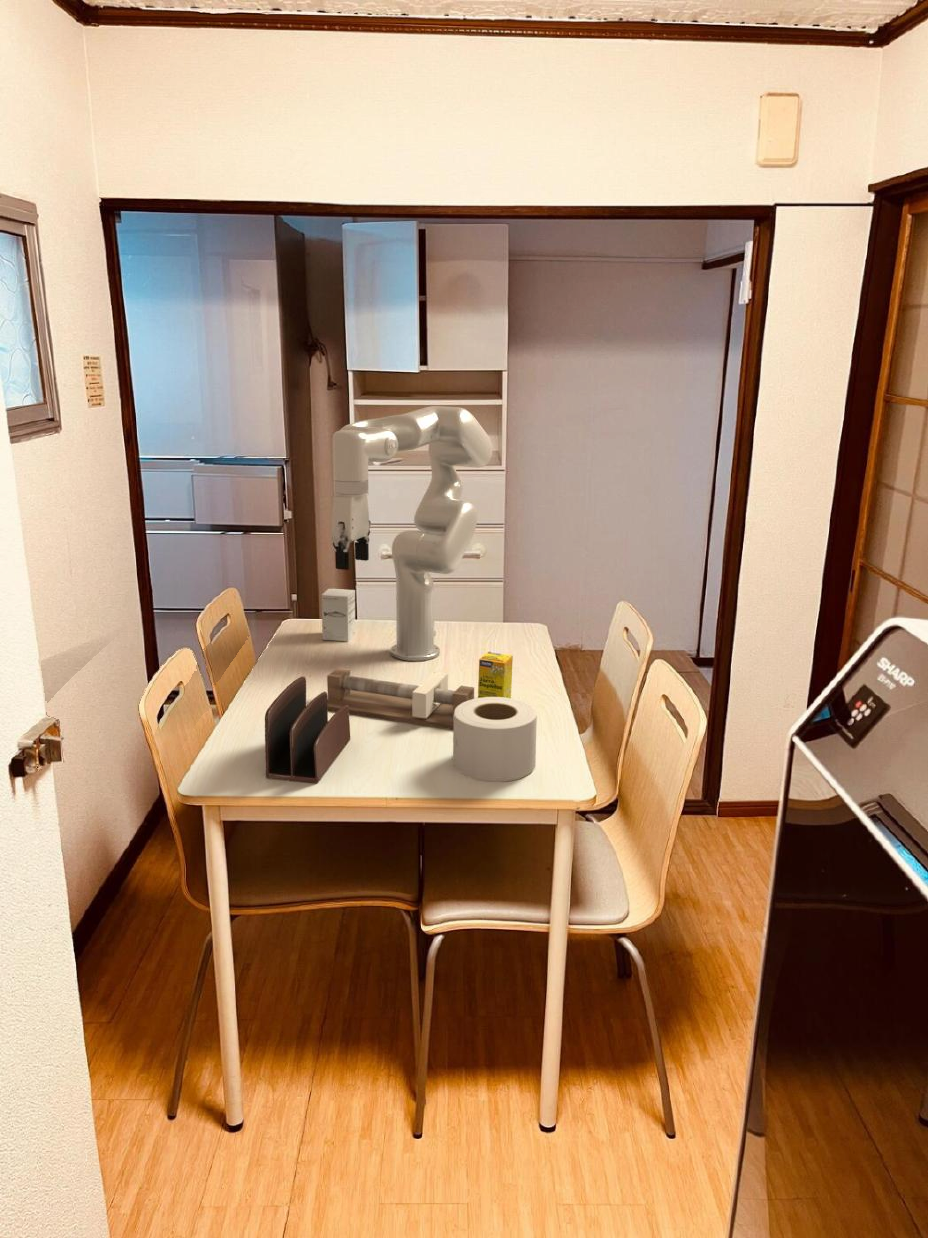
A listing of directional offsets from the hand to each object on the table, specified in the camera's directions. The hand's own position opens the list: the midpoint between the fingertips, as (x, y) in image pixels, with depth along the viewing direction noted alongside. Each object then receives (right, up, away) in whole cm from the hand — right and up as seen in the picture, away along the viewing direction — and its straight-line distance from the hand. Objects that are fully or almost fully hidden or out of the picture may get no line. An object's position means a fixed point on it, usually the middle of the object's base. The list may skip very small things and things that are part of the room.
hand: (352, 564), depth 205 cm
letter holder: (-4, -39, -30) cm, 50 cm away
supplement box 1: (-9, -17, +41) cm, 46 cm away
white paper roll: (+31, -40, -31) cm, 59 cm away
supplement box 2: (+32, -31, -2) cm, 44 cm away
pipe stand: (+11, -32, -7) cm, 34 cm away
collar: (+18, -31, -10) cm, 37 cm away
